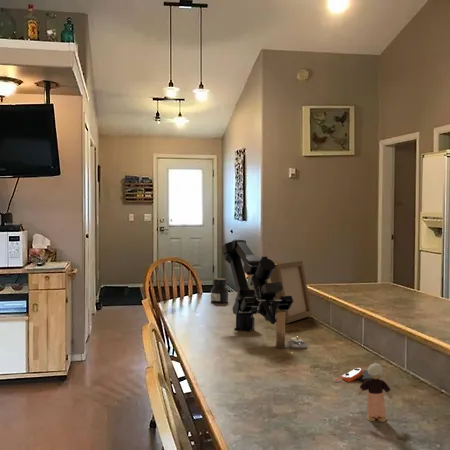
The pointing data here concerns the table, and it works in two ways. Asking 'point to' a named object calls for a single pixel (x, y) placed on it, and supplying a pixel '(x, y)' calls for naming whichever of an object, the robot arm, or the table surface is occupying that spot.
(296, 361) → the table surface
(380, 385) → the grandmother figurine
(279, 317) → the brown cylinder with ball
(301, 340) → the stand plate
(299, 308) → the photo frame
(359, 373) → the multimeter
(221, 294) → the ink bottle
